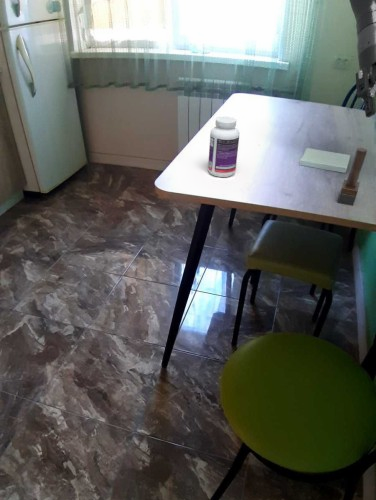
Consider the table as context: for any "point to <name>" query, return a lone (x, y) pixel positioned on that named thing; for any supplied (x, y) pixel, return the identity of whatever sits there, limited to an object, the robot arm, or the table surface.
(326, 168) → the tile
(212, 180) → the table surface
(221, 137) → the pill bottle
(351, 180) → the brush
